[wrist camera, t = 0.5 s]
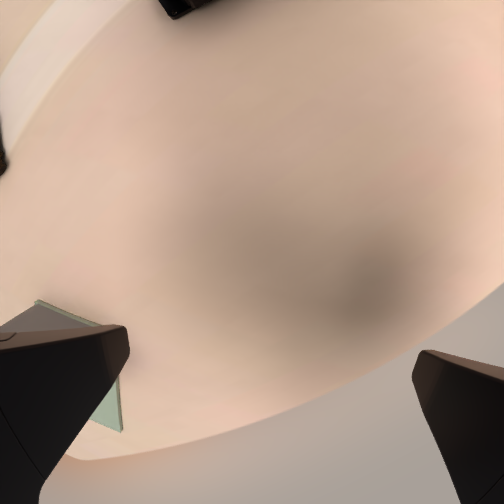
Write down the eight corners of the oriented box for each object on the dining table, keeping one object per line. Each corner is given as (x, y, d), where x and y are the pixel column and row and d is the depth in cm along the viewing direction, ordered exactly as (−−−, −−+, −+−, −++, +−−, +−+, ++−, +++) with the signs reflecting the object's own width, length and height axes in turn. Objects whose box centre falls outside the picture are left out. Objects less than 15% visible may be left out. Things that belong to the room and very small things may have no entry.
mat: (38, 299, 25) (34, 301, 25) (116, 331, 25) (113, 334, 24) (54, 397, 29) (52, 400, 28) (122, 429, 28) (120, 432, 28)
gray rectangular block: (37, 303, 25) (-46, 357, 13) (108, 332, 24) (26, 414, 13) (40, 330, 25) (-35, 388, 14) (109, 361, 25) (38, 444, 13)
